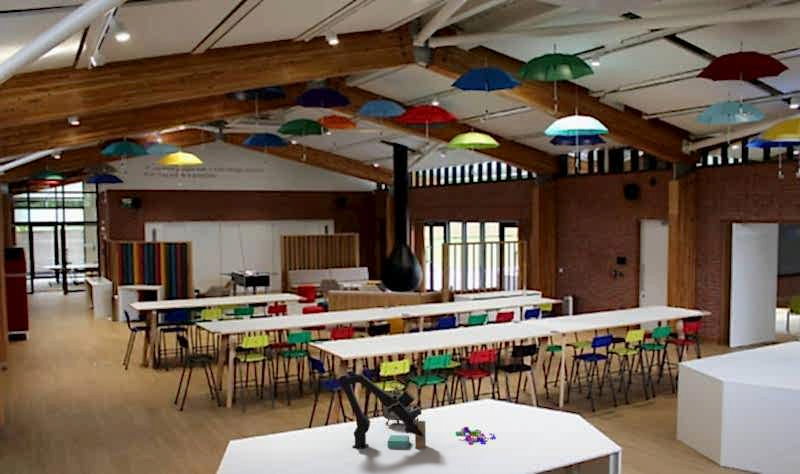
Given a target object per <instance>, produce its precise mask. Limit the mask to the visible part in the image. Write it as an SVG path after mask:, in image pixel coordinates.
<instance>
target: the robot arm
mask: <svg viewBox="0 0 800 474" xmlns="http://www.w3.org/2000/svg"><path fill="white" fill-rule="evenodd" d="M337 381H338V385H339V386H340V389H342V391H343V392H344V393H345V395H346V397H347V400H348V402H349V404H350V407H351V409H352V412H353V414H354V417H355V419H356V420H355V421H356V422H355V423H356V428H355V429H354V431H353V436H354V445H352V448H355V449H365V448H366V447H368V446H369V444H368V443H367V436H366V433H368V432H369V429H370V427H371V421H370V419H369V415H368V414H367V415H365V414H364V413H363V410H362V409H361V406H360V404H359V400H358V398H357V395H356V393H355V391H354V388H353V384H358V383H359V384H360V385H362V386H363V387H364V388H366V389H367V390H368V391H370V392H371V393H372V394H373V395H374V396H376V397H377V399H378V400H379V401H380V402H381V404H382V406H383V405H384V406H386V407H388V414H389V413H390V412H391V411H392V412H393V413H394V414H395V415H396V416H397V417H398V418H399V422H400V421H401V422H402V423H404V424H405V426H404V432H405V433H406V434H410V433H411V434H414V435H415V434H416V435H419V436H423V434H422V432H421V431H420V430H419V428H418V427H417V423H416V421H419V416H420V415H422V410H421V407H420V406H417V405H414V406H413V408H412V409H410V411H409V410H406V409H405V408H404V407H408V406H409V405H410V406H411V404H412V403H413V402H414V401H415V400H416V398H415V397H414V395H413V393H410V392H409V391H407V390H406V389H405V390H404V391H403V392H402V393H403V394H402V395H401V396H393V395H392V394H390V393H391V392H388V391H387V390H384V389H382V388H380V387H379V386H378V385H376V384H375V382H373V381H372V380H370V379H369V378H368V377H366V376H365V374H364V373H351V374H349V373H345V372H344V373H342V374H341V375H340V376H339V378H338V380H337ZM398 401H399V402H398ZM397 402H398V403H397ZM396 403H397V404H396ZM392 404H393V405H392ZM391 405H392V406H391ZM390 406H391V407H390Z"/></svg>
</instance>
